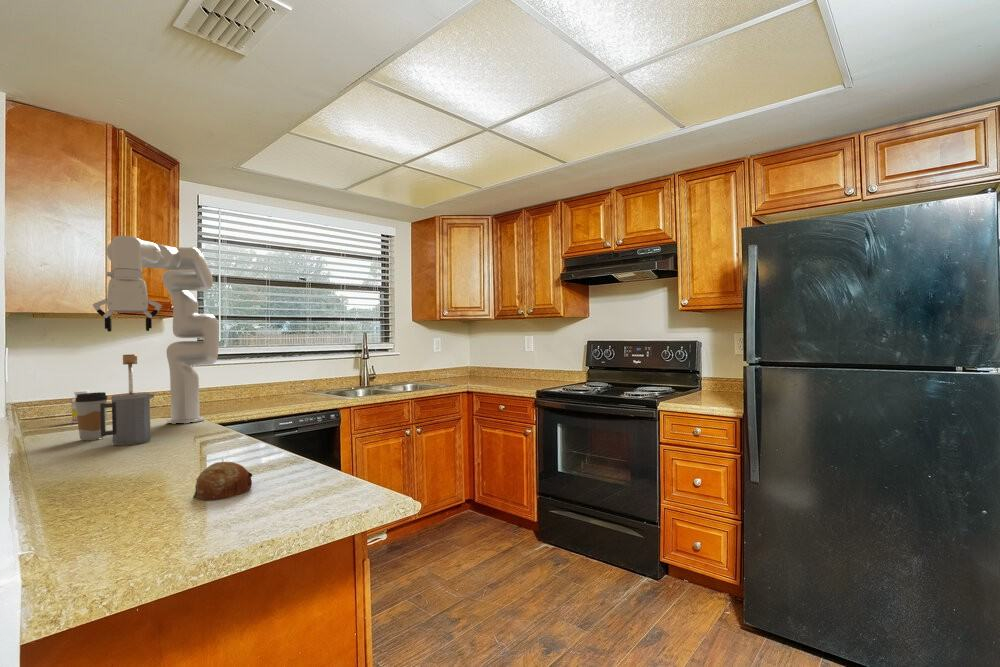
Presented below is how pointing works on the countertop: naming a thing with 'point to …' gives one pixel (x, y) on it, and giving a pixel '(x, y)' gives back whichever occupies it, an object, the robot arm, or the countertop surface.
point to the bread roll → (222, 481)
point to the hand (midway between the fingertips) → (128, 331)
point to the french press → (128, 418)
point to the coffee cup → (89, 414)
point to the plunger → (130, 368)
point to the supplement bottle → (74, 408)
